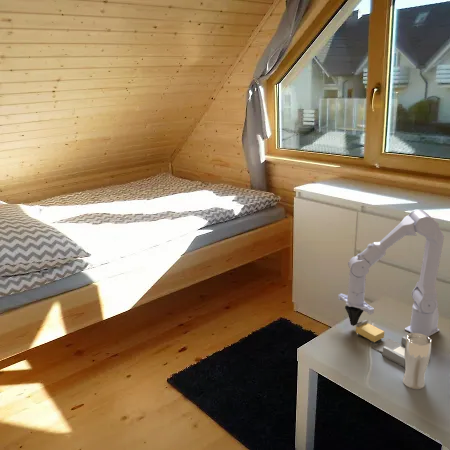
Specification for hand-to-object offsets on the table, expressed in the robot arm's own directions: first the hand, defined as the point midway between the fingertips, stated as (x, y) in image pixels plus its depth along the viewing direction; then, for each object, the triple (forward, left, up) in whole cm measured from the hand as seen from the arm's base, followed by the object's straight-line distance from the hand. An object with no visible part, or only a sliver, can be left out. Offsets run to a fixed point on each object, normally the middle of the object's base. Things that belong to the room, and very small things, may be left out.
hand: (353, 324), depth 167 cm
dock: (0, +19, -2) cm, 19 cm away
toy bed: (0, +7, -2) cm, 7 cm away
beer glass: (+10, +31, -2) cm, 33 cm away
